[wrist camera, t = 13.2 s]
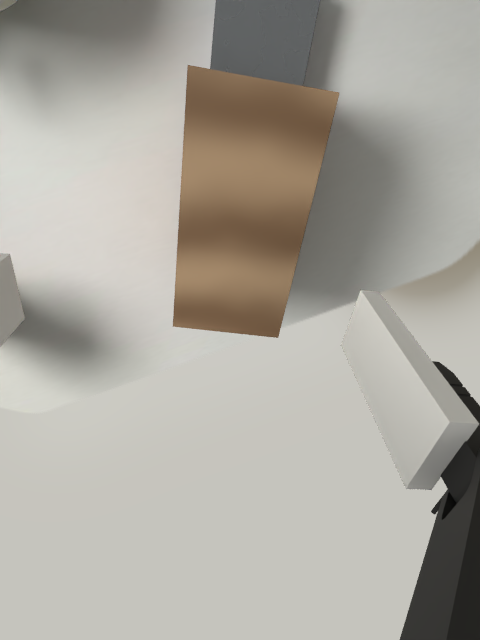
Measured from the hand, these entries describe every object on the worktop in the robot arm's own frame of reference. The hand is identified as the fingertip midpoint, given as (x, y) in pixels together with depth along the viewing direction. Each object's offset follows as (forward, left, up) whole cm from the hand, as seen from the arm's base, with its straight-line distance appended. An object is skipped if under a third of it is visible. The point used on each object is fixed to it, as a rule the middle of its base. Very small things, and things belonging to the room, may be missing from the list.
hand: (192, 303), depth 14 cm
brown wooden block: (0, +2, -17) cm, 17 cm away
